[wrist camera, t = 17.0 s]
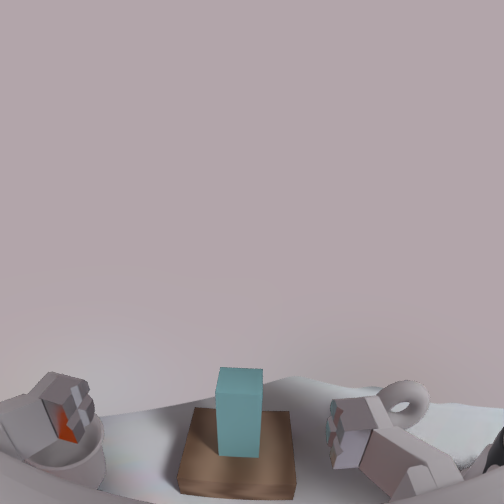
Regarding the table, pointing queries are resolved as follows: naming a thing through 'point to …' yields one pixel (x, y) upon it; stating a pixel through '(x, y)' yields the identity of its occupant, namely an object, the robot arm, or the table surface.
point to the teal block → (239, 411)
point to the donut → (405, 393)
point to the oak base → (238, 461)
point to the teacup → (75, 457)
